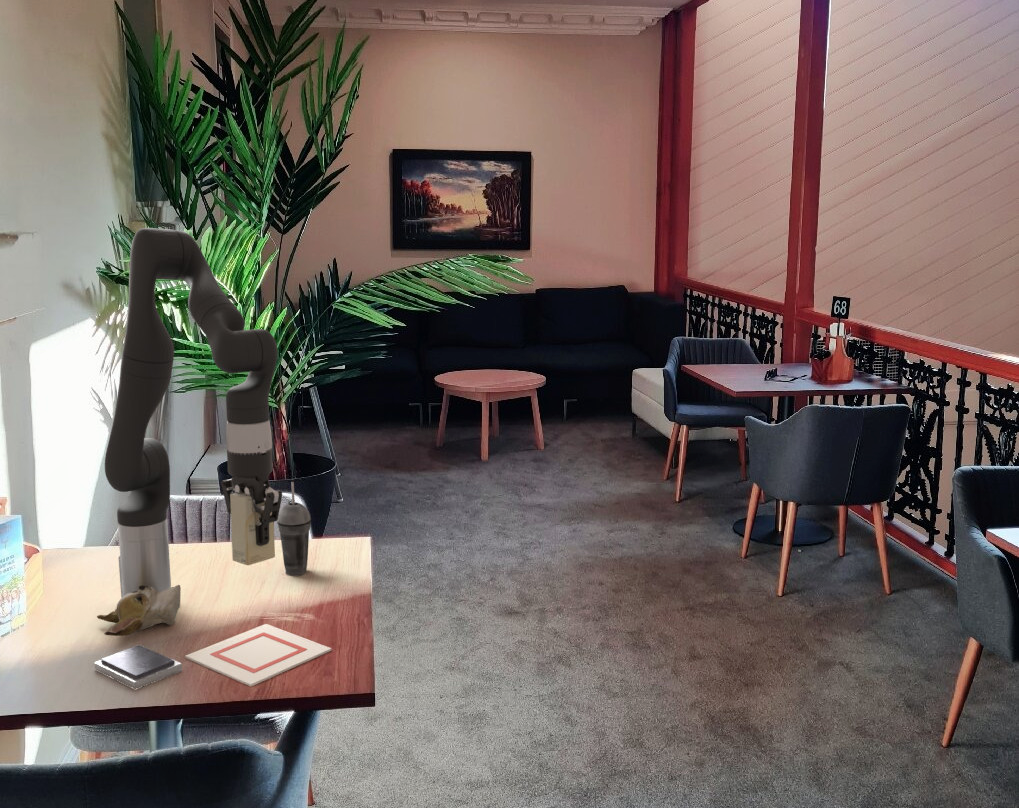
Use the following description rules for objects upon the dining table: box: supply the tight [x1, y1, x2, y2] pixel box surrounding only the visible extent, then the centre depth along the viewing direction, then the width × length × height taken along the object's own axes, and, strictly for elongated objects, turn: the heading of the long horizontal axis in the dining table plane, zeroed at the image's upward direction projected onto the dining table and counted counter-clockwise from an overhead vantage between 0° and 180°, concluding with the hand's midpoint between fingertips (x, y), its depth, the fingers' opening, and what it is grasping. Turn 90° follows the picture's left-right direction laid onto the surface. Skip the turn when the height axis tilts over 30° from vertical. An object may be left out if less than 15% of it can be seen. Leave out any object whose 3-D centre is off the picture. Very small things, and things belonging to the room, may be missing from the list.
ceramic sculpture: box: [96, 584, 182, 637], centre depth 194 cm, size 11×9×15 cm
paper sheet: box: [184, 623, 332, 687], centre depth 183 cm, size 18×18×1 cm
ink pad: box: [93, 644, 183, 690], centre depth 176 cm, size 12×9×2 cm
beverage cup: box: [276, 481, 312, 577], centre depth 222 cm, size 7×7×20 cm
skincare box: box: [230, 493, 276, 566], centre depth 179 cm, size 6×4×12 cm
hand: (253, 541), depth 179 cm, fingers closed on skincare box, 4 cm apart
